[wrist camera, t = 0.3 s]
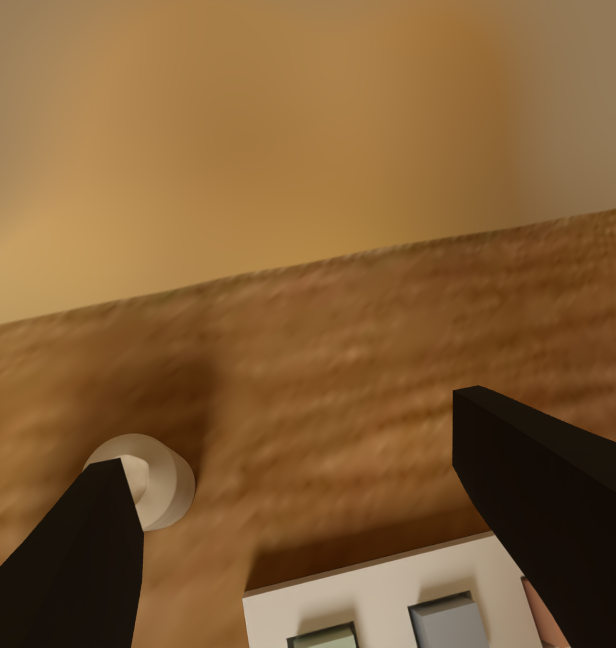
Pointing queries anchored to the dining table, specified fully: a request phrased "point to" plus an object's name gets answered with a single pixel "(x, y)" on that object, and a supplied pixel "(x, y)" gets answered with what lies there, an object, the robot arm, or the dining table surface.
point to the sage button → (328, 639)
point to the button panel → (397, 597)
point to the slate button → (449, 624)
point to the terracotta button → (543, 618)
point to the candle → (151, 477)
